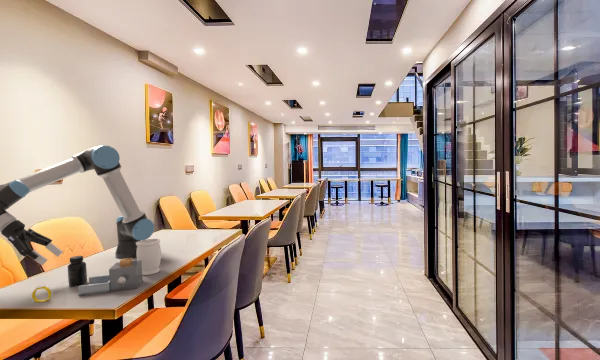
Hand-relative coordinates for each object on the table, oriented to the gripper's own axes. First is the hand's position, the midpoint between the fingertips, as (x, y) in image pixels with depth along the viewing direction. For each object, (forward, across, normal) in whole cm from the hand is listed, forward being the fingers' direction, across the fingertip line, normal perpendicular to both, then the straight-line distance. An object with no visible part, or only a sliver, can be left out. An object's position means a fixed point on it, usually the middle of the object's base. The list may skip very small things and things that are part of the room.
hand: (53, 258), depth 142 cm
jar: (+35, -7, +17) cm, 39 cm away
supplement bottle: (+15, 0, -3) cm, 15 cm away
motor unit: (+27, +10, +9) cm, 30 cm away
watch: (+11, +16, -7) cm, 21 cm away
